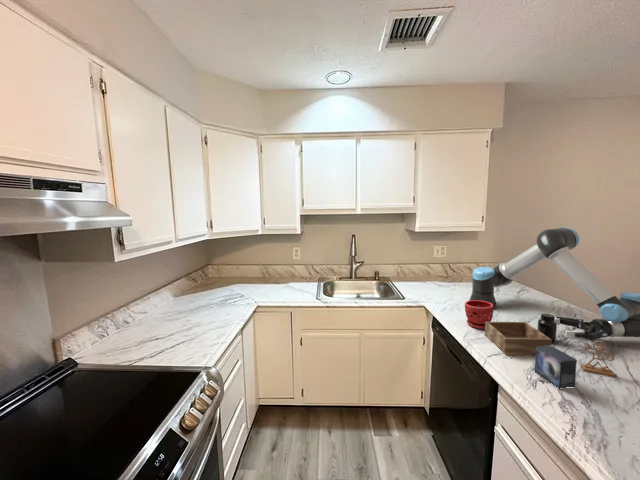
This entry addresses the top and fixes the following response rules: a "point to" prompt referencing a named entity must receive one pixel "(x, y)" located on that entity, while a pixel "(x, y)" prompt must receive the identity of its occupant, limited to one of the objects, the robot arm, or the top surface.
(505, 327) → the walnut box
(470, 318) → the plant pot
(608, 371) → the gingerbread man figurine
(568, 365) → the small box
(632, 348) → the top surface
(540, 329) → the supplement bottle
